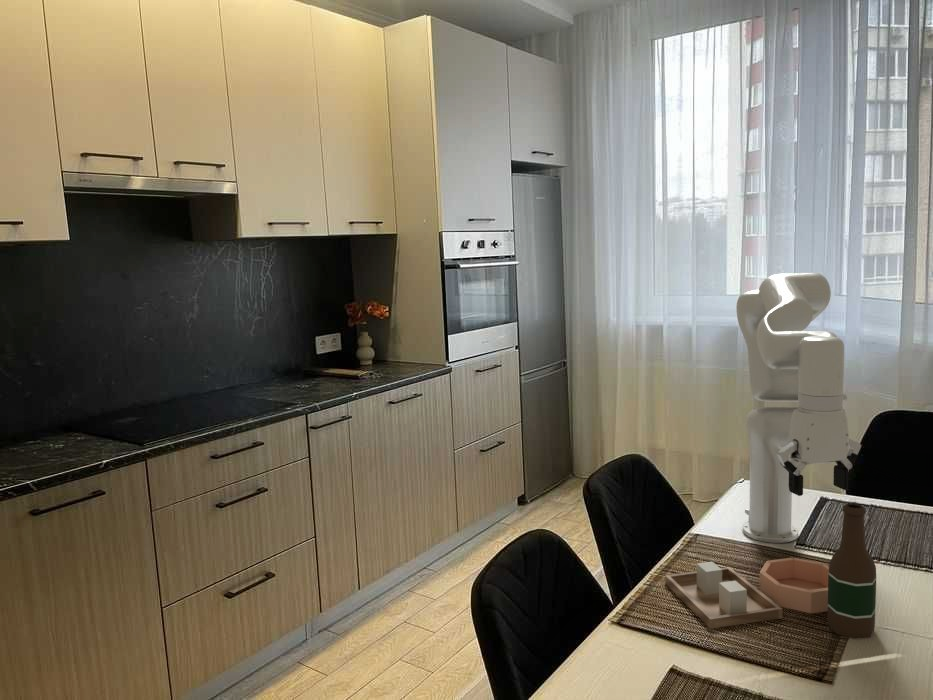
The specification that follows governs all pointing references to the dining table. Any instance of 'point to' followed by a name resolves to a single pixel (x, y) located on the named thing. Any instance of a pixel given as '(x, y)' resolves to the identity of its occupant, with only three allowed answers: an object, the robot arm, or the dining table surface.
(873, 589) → the beer bottle
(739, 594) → the white sharp-edged block
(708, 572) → the off-white matte cube
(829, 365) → the robot arm
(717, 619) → the walnut tray
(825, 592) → the bowl
